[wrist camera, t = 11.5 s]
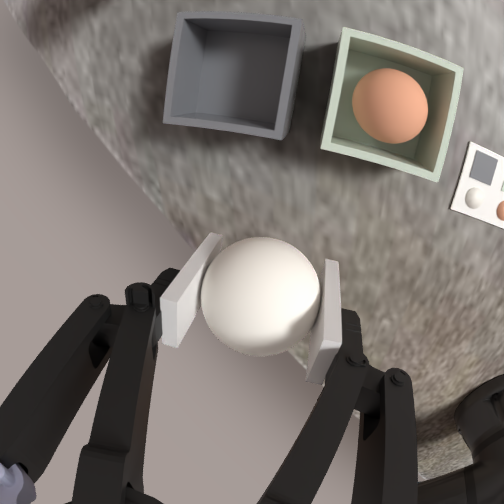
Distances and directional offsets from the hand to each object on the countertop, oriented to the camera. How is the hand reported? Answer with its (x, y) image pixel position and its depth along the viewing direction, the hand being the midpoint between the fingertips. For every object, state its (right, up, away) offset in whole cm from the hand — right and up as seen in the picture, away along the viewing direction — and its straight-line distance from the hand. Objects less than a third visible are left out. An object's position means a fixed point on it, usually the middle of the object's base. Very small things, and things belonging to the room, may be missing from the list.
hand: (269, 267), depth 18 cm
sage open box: (+10, +14, +5) cm, 18 cm away
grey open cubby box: (-2, +16, +6) cm, 18 cm away
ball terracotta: (+9, +12, +2) cm, 15 cm away
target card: (+23, +7, +6) cm, 25 cm away
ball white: (-1, -1, -2) cm, 3 cm away
